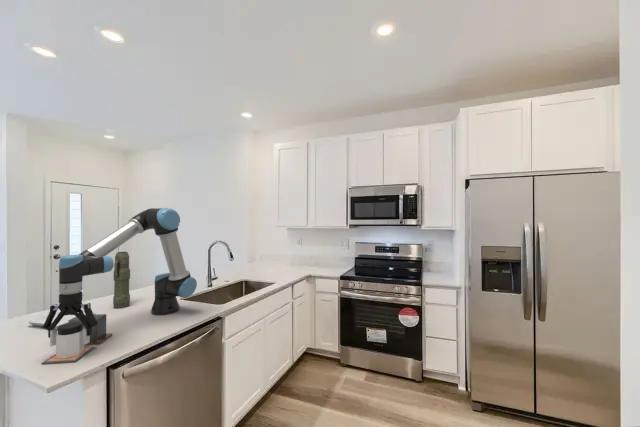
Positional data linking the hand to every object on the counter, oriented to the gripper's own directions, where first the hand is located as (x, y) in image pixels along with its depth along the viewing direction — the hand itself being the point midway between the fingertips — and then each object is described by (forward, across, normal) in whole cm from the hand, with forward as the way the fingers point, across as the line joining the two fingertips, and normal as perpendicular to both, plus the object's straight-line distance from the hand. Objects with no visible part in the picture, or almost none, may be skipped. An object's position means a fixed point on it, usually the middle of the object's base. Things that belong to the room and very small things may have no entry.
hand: (70, 344), depth 122 cm
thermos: (+5, -13, +68) cm, 69 cm away
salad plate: (+5, -30, +43) cm, 53 cm away
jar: (+4, 0, 0) cm, 4 cm away
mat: (+5, 0, 0) cm, 5 cm away
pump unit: (+5, -2, +15) cm, 16 cm away
